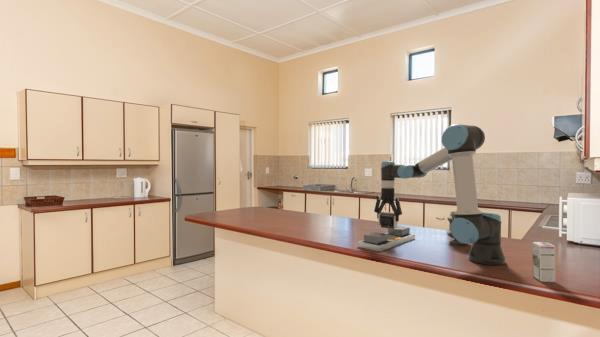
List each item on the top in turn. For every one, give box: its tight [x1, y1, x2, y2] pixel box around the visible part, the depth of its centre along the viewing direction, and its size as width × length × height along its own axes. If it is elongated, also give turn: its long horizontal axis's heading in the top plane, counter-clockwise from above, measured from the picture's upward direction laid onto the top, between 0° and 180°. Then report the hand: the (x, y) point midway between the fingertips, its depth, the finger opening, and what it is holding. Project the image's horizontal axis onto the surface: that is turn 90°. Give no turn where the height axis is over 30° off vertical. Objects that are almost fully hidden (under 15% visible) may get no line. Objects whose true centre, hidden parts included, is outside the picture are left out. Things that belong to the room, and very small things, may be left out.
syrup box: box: [532, 241, 556, 283], centre depth 132 cm, size 6×6×14 cm
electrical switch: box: [380, 211, 397, 229], centre depth 193 cm, size 9×5×9 cm, turn 56°
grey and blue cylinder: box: [446, 211, 468, 246], centre depth 191 cm, size 12×12×18 cm
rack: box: [357, 225, 416, 252], centre depth 193 cm, size 14×40×7 cm, turn 135°
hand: (387, 225), depth 193 cm, fingers closed on electrical switch, 9 cm apart
